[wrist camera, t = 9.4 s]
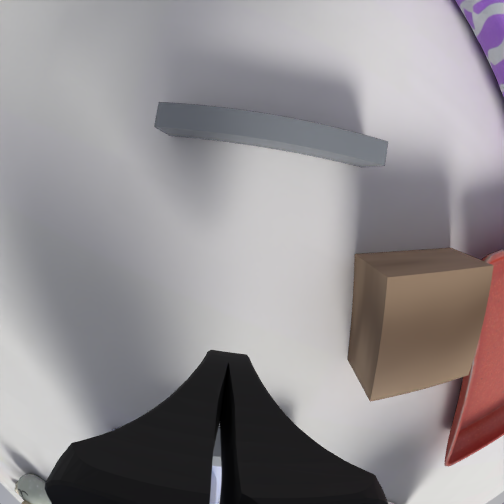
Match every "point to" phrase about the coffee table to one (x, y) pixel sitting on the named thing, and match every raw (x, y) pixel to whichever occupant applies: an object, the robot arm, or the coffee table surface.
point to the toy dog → (32, 490)
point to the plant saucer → (482, 379)
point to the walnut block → (415, 318)
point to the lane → (269, 142)
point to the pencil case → (488, 31)
